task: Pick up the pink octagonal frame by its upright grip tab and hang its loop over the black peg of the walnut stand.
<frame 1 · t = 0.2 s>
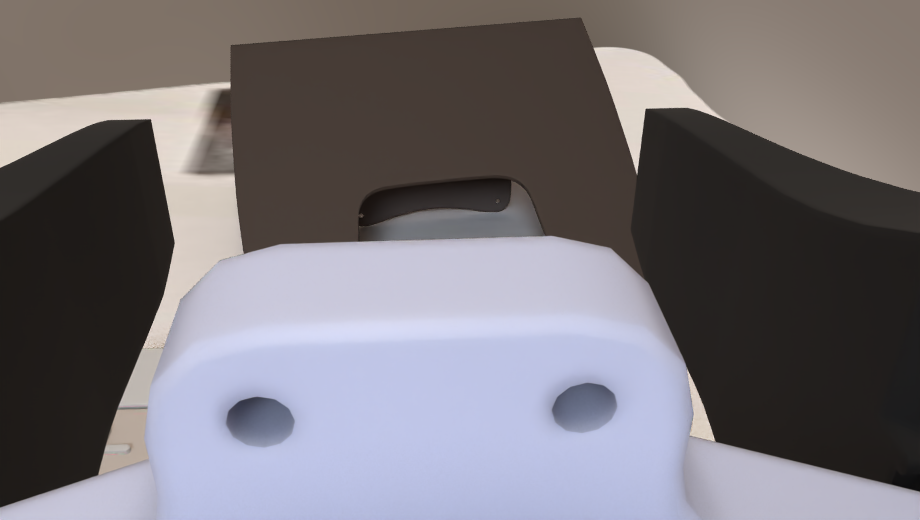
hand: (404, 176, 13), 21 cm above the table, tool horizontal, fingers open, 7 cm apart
laptop tray: (443, 258, 53), on the table
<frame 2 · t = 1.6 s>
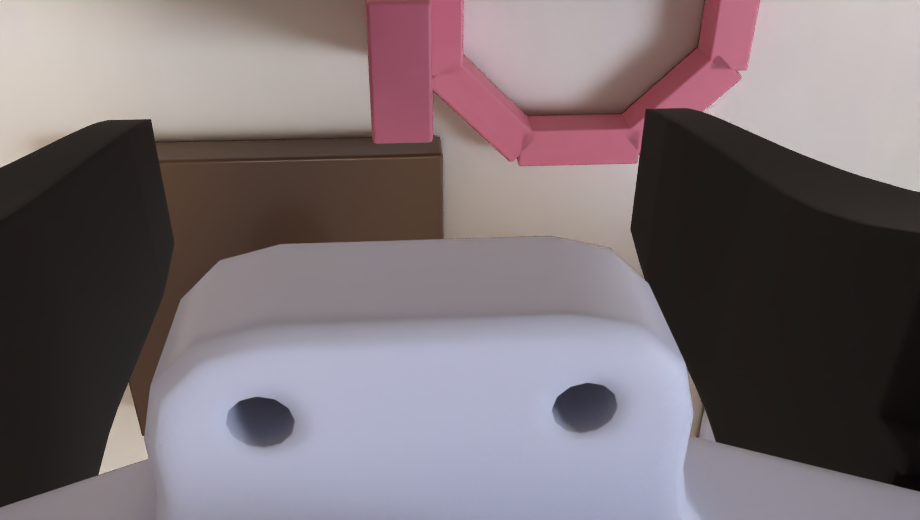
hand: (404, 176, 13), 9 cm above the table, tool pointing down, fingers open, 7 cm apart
stand: (283, 284, 25), on the table
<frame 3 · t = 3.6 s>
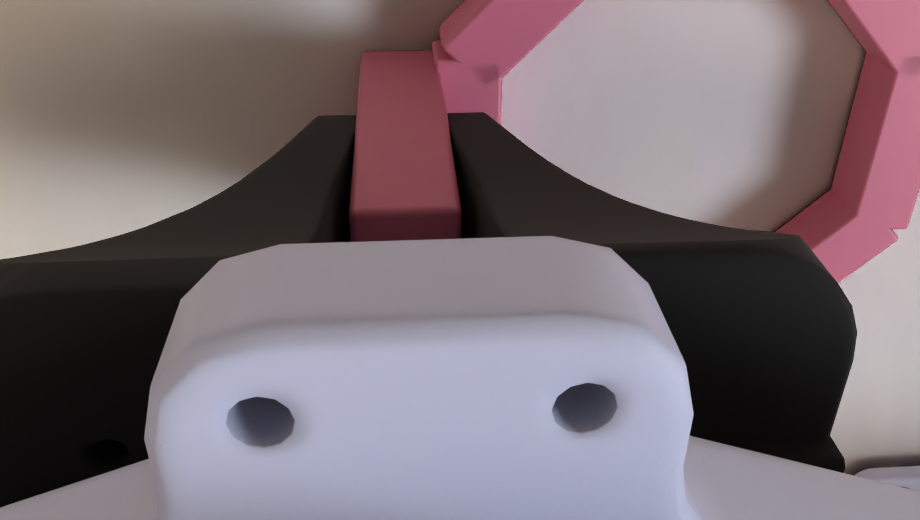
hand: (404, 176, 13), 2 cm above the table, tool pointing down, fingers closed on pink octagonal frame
pink octagonal frame: (672, 126, 15), on the table, touching gripper
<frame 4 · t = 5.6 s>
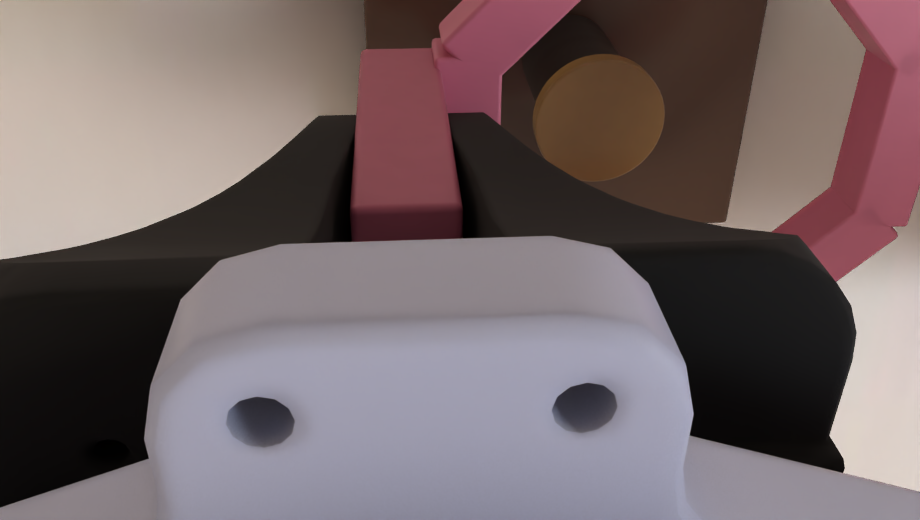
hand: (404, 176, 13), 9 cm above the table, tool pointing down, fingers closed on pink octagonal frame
pink octagonal frame: (672, 124, 15), point 7 cm above the table, touching gripper
stand: (557, 40, 21), on the table
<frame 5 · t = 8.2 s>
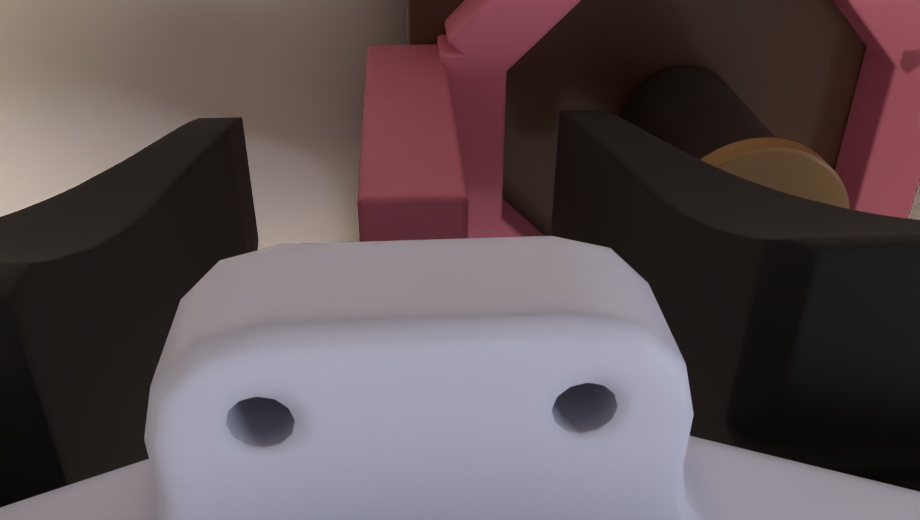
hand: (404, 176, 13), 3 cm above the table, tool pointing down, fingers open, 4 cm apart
pink octagonal frame: (674, 120, 15), point 1 cm above the table, touching stand
stand: (658, 95, 16), on the table
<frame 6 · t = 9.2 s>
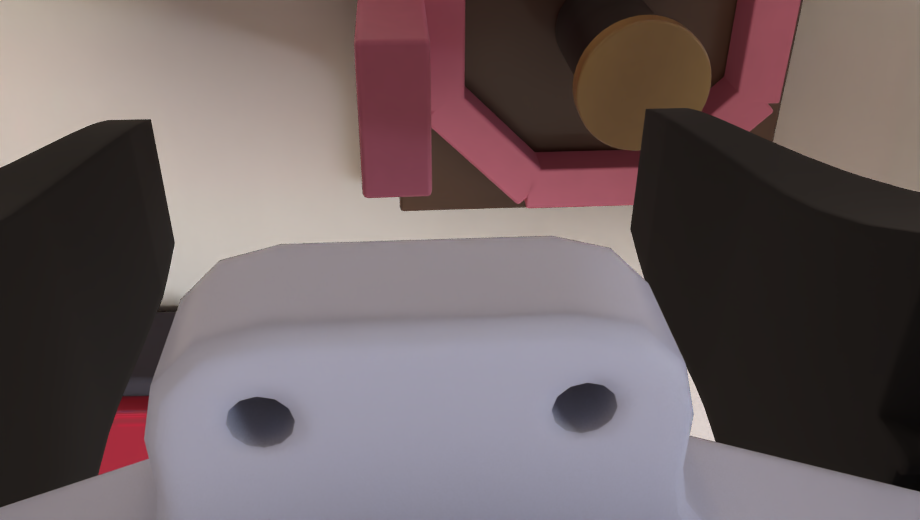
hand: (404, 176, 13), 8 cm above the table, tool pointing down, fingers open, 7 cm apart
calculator: (21, 449, 26), on the table
pink octagonal frame: (598, 24, 19), point 1 cm above the table, touching stand
stand: (589, 10, 20), on the table
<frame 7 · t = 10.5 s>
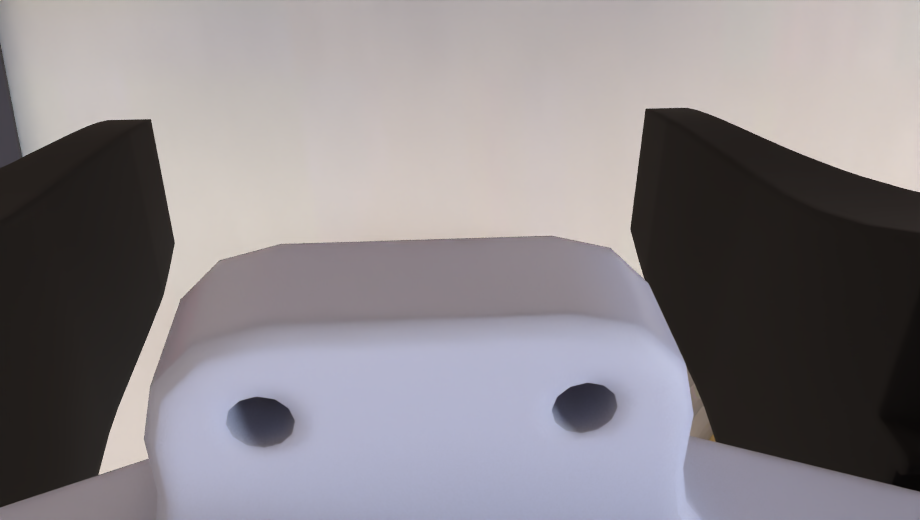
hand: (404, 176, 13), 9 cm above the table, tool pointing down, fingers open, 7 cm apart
light bulb: (721, 371, 28), on the table
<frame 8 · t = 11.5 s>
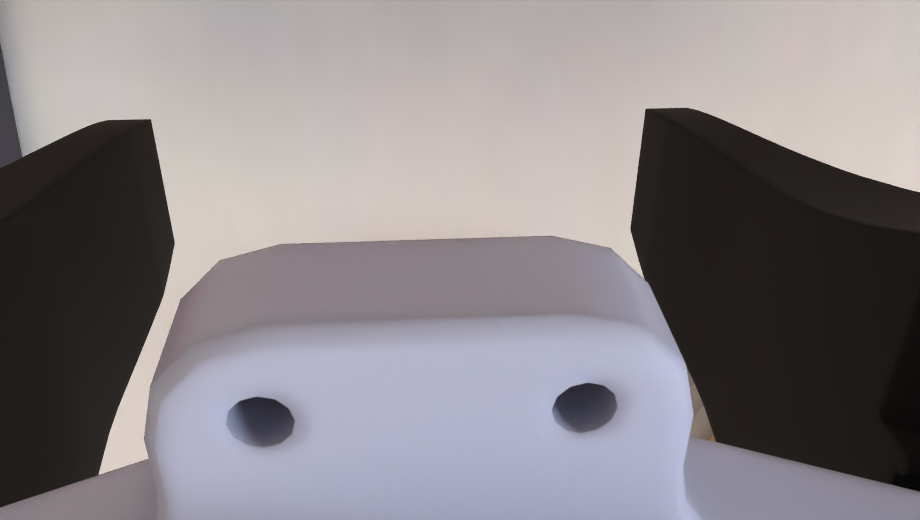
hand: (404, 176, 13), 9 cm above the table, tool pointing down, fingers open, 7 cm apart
light bulb: (721, 371, 28), on the table
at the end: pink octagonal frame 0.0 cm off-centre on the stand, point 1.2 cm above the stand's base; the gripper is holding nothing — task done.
